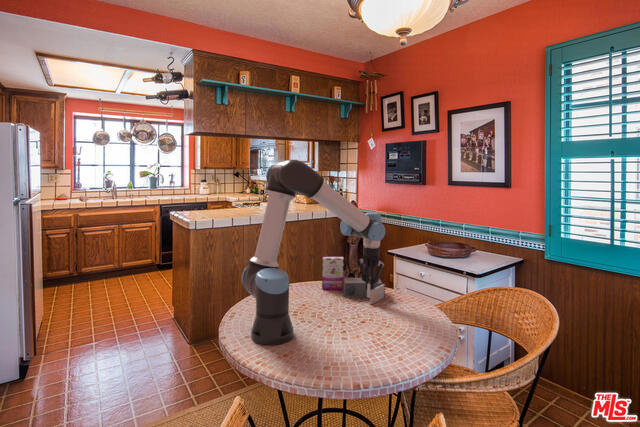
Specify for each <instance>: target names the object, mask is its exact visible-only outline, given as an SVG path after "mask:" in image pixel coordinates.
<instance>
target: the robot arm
mask: <svg viewBox="0 0 640 427" xmlns="http://www.w3.org/2000/svg"><path fill="white" fill-rule="evenodd" d="M265 176H266V177H265V179H266V182H267V185H266V190H265V191H266V194H267V195H268V199H267V203H266V207H265V212H264V215H263V220H262V224H261V228H260V231H259V232H260V233H259V236H258V239H257V240H258V241H257V244H256V249H255V252H254V253H255V254H254V256H252V257H251V258H249V261H248V265H247V266H246V267H245V268H244V269H243V272H242V274H241V283H242V286H243V287H244V289H245V291H246V292H247V293H248V294H250V295H251V296H252V297H253V298H254V299H255V318H254V321H253V324H252V327H251V330H250V338H251V340H252V341H253V342H255V343H257V344H259V345H264V346H278V345H282V344H284V343H287V342H289V341H291V340H292V339H293V338H294V332H295V331H294V330H295V329H294V326H293V323H292V320H291V317H290V308H289V307H290V301H289V300H290V278H289V275H288V273H287V272H286V271H285V270H283V269H279V267H280V265H279V263H278V261H277V259H278V254H279V251H280V246H281V242H282V237H283V234H284V229H285V225H286V221H287V216H288V212H289V208H290V204H291V202H292V201H293V200H294V199H296V196H297V193H298V194H300V195H303V196H304V197H306V198H307V199H313V200H314V201H316V202H317V203H318V204H320V205H321V206H322V207H323V208H325V209H326V210H328V211H329V212H330V213H331V214H333V215H334V216H336V217H337V218H339V219H340V220H341V221H340V225H339V226H340V227H339V229H340V233H341V234H342V235H343V236H349V237H350V236H354V237H358V238H363V244H362V245H363V247H362V248H363V249H362V257H361V258H360V259H358V260H357V264H358V267H359V270H360V276H361V277H360V278H362V281H365V282H366V289H367V297H366V298H369V299H370V290H372V289H374V283H377V282H378V281H379V279H380V277H381V274H382V271H383V268H384V267H385V265H386V264H385V263H384V262H382V261H381V258H380V256H381V254H380V253H381V252H380V251H381V250H380V249H381V247H380V246H381V241H382V240H383V239H384V237H385V235H386V227H385V225H384V224H383V223H382V215H381V214H380V213H379V212H366V213H365V212H363V211H361V209H359V208H358V207H357V206H356V205H354V204H353V203H352V202H351V201H349V200H348V199H347V198H346V197H344V196H343V195H342V194H340V192H338V191H337V190H336V189H334V188H333V187H331V186H330V184H328V183H327V182H325V178H324V177H323V175H321V174H320V173H318V172H317V171H316V170H315V169H314V168H312V167H311V166H309V165H308V164H307V163H305V162H303V161H301V160H299V159H289V160H288V159H287V160H286V159H285V160H284V159H281V160H278V161H275V162H273V163H272V164H270V166H269V167H268V168H267V170H266V175H265ZM376 268H377V270H376Z"/></svg>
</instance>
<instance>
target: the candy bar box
mask: <svg viewBox="0 0 640 427" xmlns="http://www.w3.org/2000/svg"><path fill="white" fill-rule="evenodd" d="M321 261H322V262H321V263H322V264H321V265H322V266H321V267H322V274H321V275H322V276H321V281H322V282H321V284H322V285H321V289H322V290H325V291H327V290H328V291H330V290H332V291H343V278H345V273H344V272H345V258H344V256H322V260H321Z"/></svg>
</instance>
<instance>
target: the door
mask: <svg viewBox="0 0 640 427" xmlns="http://www.w3.org/2000/svg"><path fill="white" fill-rule="evenodd" d="M385 298H386V283H383V284H382V285H380V286H378V287H376V288H374V289H372V290H370V298H369V305H373V304H375V303H377V302H378V301H380V300H382V299H385Z"/></svg>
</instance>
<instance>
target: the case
mask: <svg viewBox="0 0 640 427" xmlns="http://www.w3.org/2000/svg"><path fill="white" fill-rule="evenodd" d="M383 284H384V283H383V282H382V280H381V279H380V278H379V281H378V282H377V283H374V288H376V287H378V286H380V285H383ZM342 292H343V296H344V298H368V297H367V289H366V282H365V281H362V277H344V278H343V290H342Z"/></svg>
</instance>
